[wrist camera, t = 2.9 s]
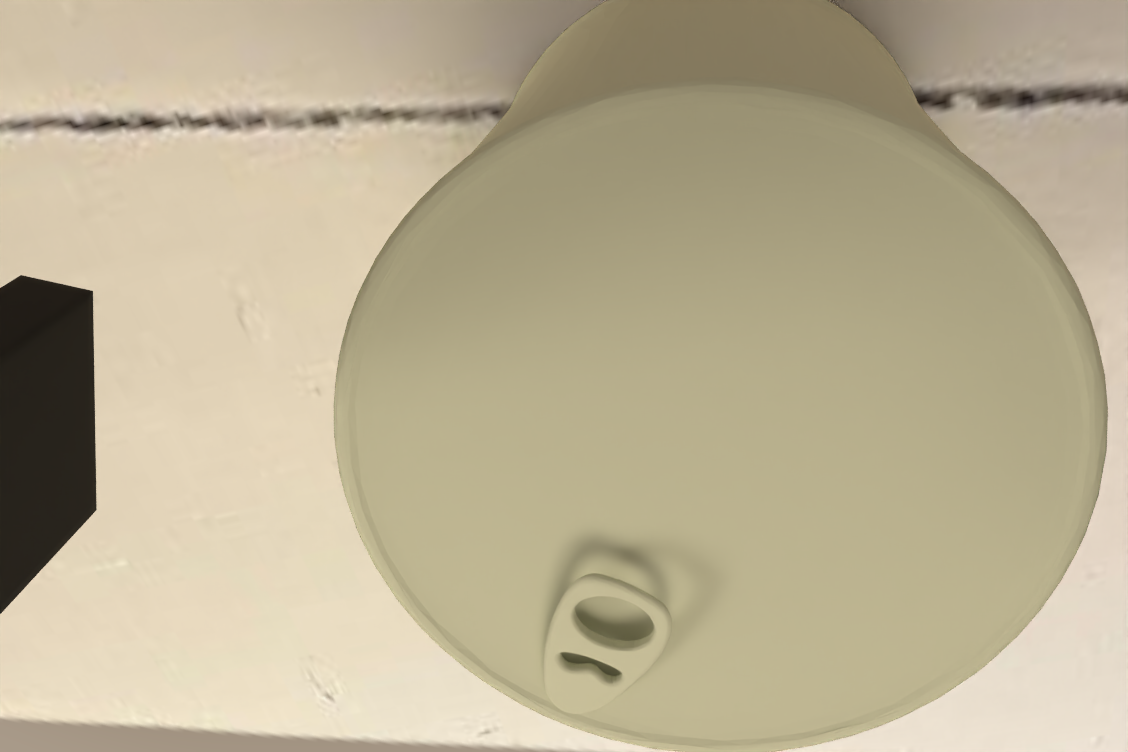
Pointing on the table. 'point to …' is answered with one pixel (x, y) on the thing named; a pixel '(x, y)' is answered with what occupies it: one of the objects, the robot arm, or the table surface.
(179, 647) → the table surface
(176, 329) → the table surface
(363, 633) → the table surface
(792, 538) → the can
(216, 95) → the table surface
